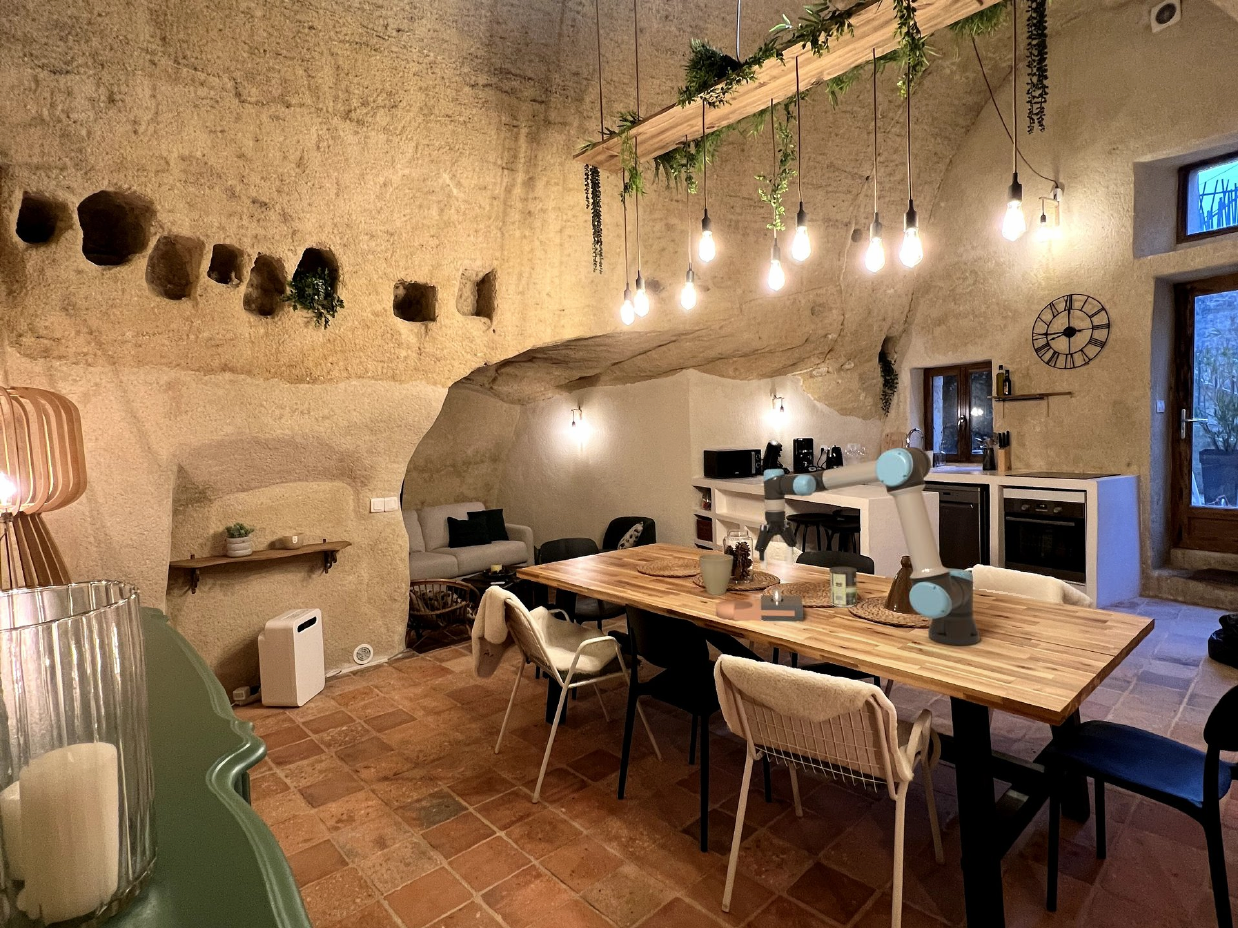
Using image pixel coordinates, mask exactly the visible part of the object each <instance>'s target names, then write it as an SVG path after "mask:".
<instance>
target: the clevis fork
mask: <svg viewBox="0 0 1238 928" xmlns="http://www.w3.org/2000/svg"><path fill="white" fill-rule="evenodd" d="M760 600H761V610H784V611H795V616H766V615H761V620H763V621H765V622H797V621H799V622H800V623H801V622H802V623H803V622H804V606H803V599H802V595H781V602H773V595H765V594H764V595H760ZM763 621H762V622H763Z"/></svg>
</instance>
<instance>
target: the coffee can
mask: <svg viewBox="0 0 1238 928" xmlns="http://www.w3.org/2000/svg"><path fill="white" fill-rule="evenodd" d="M857 570H858V569H857V568H855V567H850V566H833V567H829V583H830V584H829V588H830V589H829V590H830V592H829V593H830V594H829V595H830V605H831V604H832V606H833V605H834V607H838V608H853V607H852V606H853V605H856V604H857V605H858V586H857V585H858V584H857V582H858V581H857V577H858V576H857Z"/></svg>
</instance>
